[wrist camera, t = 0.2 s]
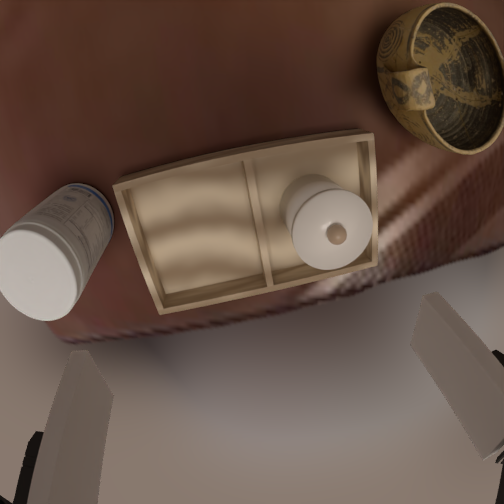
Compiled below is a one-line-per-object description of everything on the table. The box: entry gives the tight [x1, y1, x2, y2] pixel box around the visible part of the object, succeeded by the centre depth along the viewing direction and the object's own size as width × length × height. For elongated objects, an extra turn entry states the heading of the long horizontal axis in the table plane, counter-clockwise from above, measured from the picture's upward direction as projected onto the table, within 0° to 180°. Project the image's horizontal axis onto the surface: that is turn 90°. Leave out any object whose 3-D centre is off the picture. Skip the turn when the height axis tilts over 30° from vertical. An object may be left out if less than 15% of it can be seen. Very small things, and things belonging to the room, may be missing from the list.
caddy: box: [112, 129, 378, 315], centre depth 37 cm, size 17×28×4 cm, turn 100°
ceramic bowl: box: [377, 3, 504, 155], centre depth 26 cm, size 22×17×15 cm
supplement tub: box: [0, 183, 114, 321], centre depth 29 cm, size 10×10×15 cm
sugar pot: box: [279, 174, 373, 270], centre depth 34 cm, size 9×9×9 cm
